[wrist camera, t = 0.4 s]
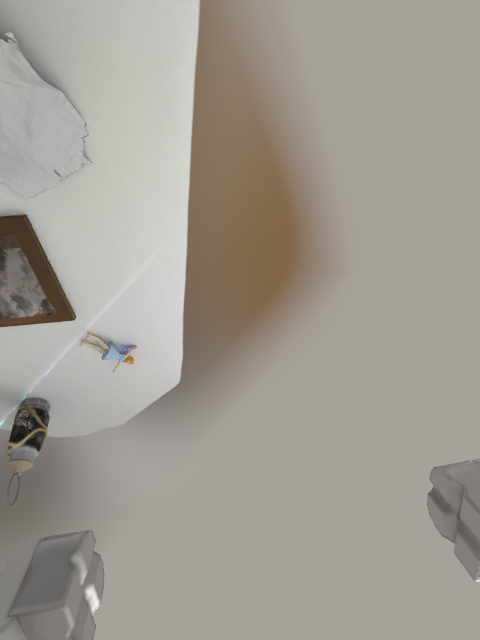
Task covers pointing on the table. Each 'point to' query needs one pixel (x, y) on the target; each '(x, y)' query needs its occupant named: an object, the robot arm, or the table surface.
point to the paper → (35, 127)
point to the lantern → (27, 436)
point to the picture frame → (28, 278)
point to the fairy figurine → (110, 350)
